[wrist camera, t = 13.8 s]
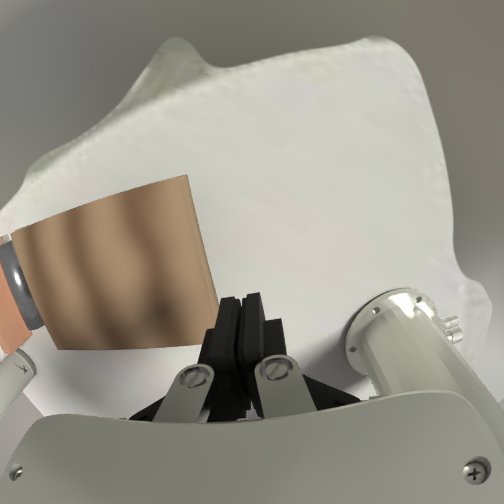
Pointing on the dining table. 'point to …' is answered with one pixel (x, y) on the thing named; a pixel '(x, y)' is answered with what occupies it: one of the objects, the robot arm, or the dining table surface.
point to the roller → (19, 287)
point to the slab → (122, 271)
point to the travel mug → (14, 378)
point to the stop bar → (10, 320)
